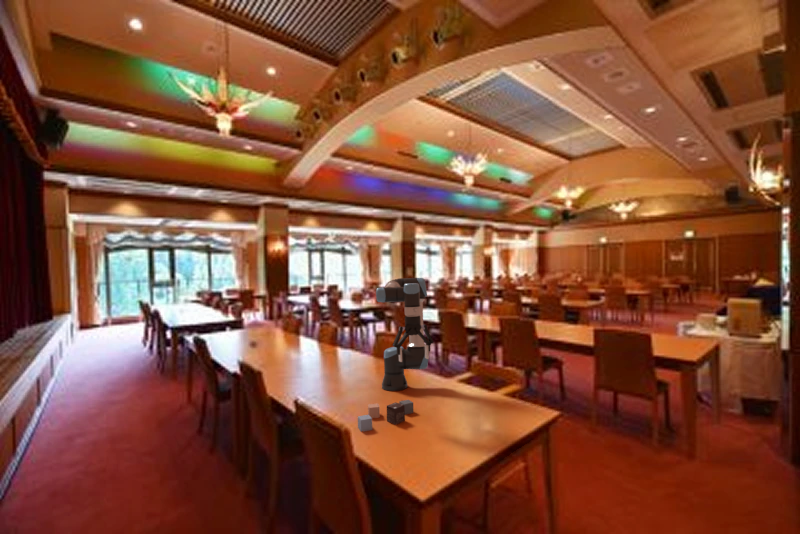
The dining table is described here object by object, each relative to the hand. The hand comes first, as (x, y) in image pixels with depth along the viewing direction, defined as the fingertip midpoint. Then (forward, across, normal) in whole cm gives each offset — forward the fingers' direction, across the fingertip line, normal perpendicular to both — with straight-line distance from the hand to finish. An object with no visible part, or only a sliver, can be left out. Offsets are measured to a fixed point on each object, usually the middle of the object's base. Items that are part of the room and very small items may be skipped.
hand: (413, 359), depth 182 cm
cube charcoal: (+26, -3, +4) cm, 26 cm away
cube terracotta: (+26, -19, +6) cm, 33 cm away
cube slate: (+26, -27, -7) cm, 38 cm away
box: (+26, -12, -5) cm, 29 cm away
